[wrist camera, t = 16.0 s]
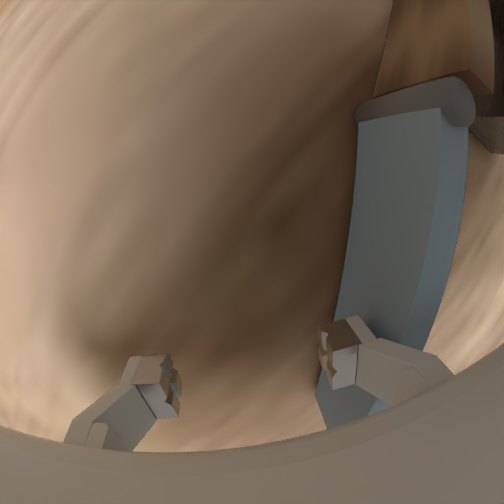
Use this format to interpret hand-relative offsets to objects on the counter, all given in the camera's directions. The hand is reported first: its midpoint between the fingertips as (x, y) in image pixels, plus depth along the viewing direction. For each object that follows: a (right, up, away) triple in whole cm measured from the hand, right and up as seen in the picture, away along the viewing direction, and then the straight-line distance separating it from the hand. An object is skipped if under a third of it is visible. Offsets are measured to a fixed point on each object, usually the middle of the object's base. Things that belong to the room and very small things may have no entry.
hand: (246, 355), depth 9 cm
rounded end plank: (+5, +3, +3) cm, 6 cm away
